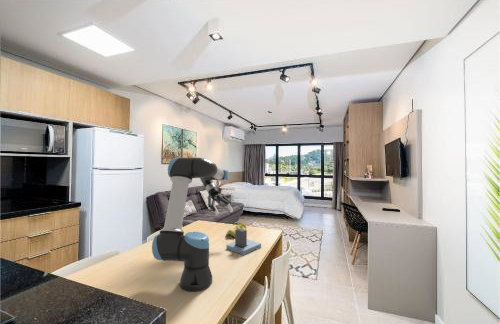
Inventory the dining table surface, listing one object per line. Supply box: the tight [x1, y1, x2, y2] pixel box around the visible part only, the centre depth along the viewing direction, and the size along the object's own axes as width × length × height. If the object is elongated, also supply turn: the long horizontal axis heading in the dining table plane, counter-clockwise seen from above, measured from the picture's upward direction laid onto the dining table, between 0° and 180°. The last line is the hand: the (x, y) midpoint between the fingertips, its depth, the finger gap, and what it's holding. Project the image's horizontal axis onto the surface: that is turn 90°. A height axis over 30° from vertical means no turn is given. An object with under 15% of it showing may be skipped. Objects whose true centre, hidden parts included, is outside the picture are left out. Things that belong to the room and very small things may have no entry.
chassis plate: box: [225, 238, 262, 256], centre depth 150 cm, size 18×16×2 cm
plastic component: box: [225, 221, 248, 238], centre depth 180 cm, size 20×7×10 cm
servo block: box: [234, 228, 248, 248], centre depth 148 cm, size 4×6×14 cm
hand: (225, 213), depth 156 cm, fingers open, 13 cm apart
